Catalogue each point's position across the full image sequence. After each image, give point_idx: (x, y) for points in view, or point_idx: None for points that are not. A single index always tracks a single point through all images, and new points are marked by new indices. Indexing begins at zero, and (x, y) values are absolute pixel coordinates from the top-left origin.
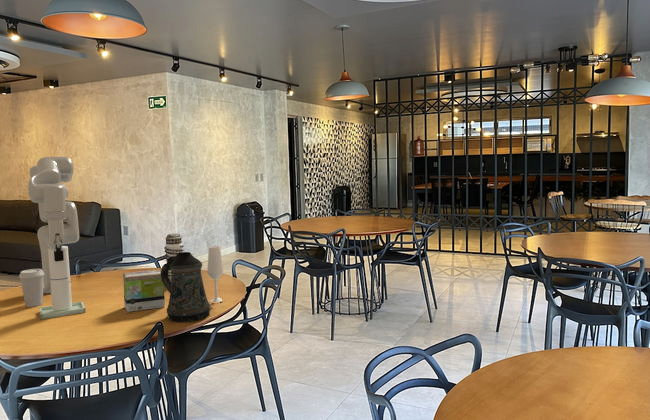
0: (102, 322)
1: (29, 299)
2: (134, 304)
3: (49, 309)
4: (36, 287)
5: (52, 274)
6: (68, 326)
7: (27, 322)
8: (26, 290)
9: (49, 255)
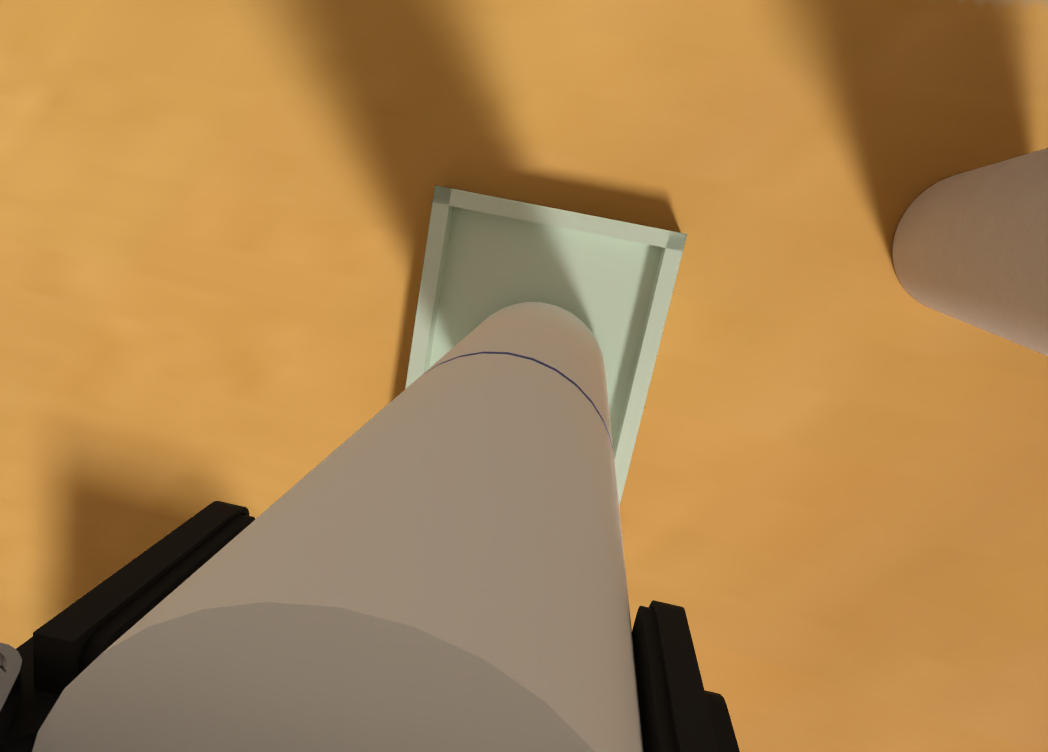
0: (100, 480)
1: (947, 194)
2: None
3: (645, 300)
4: (984, 269)
5: (412, 385)
6: (140, 299)
7: (430, 89)
8: (1024, 165)
9: (318, 495)
